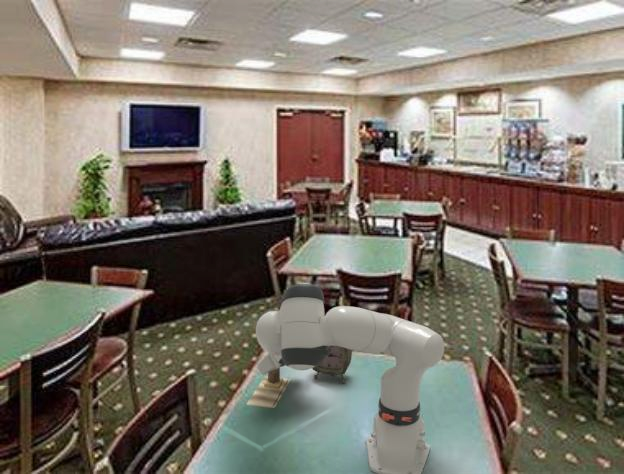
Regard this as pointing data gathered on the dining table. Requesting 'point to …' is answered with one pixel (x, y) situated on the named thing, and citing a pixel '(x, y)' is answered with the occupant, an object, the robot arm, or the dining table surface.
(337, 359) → the tabletop clock
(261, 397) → the plywood board
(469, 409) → the dining table surface
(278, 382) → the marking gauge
